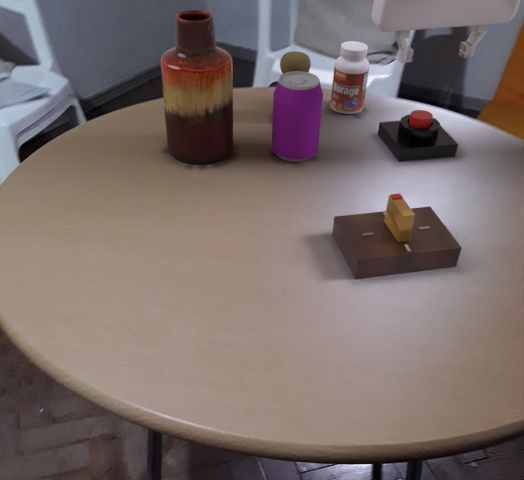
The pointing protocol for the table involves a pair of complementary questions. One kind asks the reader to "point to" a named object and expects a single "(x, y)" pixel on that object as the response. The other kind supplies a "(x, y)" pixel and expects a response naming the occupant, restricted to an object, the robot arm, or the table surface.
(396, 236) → the thumb turn
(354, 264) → the plate
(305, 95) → the beverage can
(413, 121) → the bell button
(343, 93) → the pill bottle
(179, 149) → the vase
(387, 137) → the box
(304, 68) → the cork
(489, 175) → the table surface
